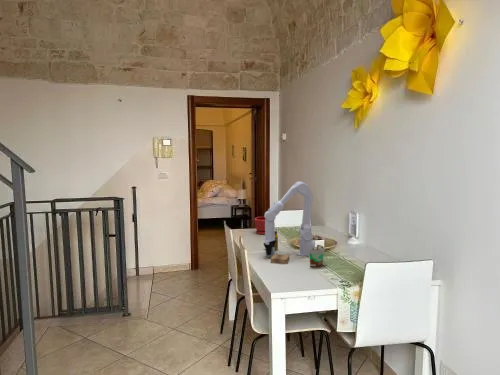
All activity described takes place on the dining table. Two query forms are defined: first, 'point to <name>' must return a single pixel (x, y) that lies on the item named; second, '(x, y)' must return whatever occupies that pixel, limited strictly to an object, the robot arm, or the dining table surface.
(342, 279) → the dining table surface
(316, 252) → the food container
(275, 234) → the condiment
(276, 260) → the base
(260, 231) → the plant pot
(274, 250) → the block
